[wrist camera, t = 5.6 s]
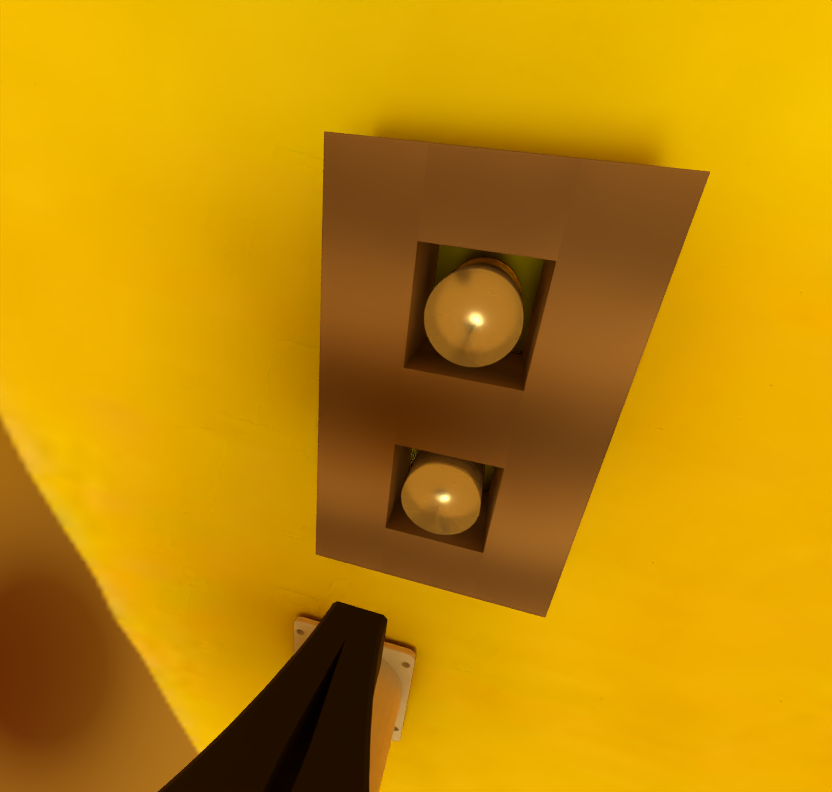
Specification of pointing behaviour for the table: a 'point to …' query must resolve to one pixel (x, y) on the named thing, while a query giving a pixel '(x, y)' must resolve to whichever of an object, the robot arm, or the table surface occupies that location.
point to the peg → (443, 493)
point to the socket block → (492, 384)
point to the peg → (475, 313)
